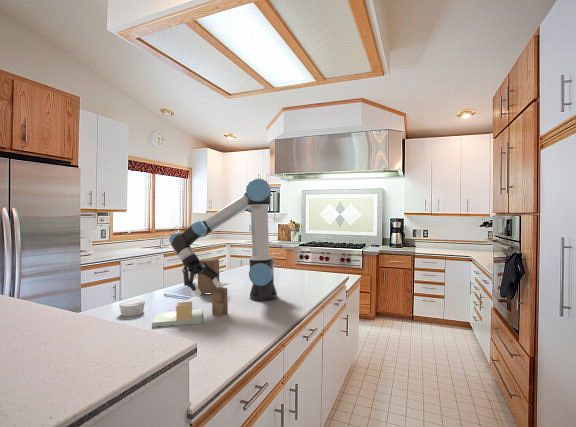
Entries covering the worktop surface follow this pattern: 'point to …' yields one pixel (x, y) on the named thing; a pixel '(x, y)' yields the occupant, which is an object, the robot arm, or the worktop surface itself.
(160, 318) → the board
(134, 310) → the ramekin
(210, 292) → the block
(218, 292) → the pillar
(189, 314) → the cube
